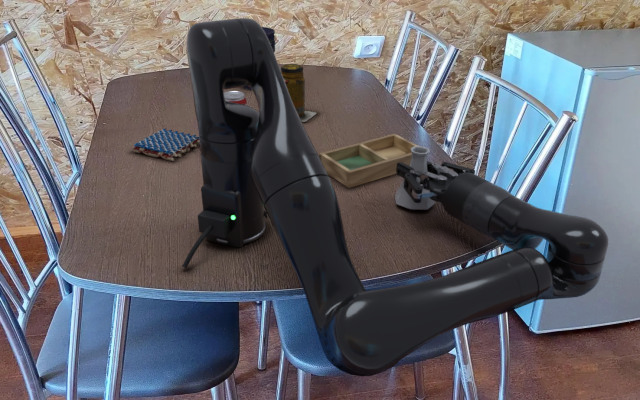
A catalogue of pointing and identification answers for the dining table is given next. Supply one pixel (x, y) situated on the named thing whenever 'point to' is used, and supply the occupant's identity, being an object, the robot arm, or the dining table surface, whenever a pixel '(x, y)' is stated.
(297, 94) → the condiment
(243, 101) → the soda can
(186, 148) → the woven mat
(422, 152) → the flask
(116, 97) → the dining table surface
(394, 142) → the wooden compartment tray
